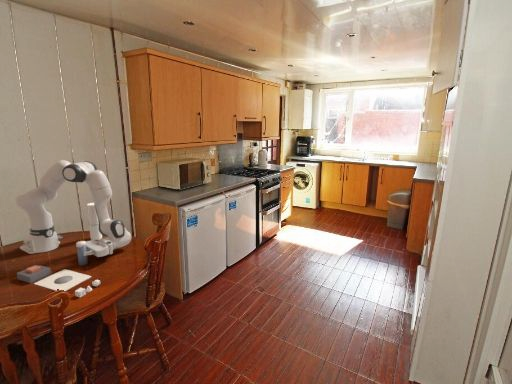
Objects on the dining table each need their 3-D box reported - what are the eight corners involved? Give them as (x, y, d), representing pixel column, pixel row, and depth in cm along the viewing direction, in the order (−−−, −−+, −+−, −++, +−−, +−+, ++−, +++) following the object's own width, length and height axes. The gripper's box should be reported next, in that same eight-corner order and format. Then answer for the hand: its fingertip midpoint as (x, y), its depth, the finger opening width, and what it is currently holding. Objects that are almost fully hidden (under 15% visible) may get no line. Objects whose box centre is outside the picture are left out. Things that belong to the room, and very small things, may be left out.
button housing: (17, 279, 144) (16, 273, 144) (38, 270, 154) (37, 264, 153) (30, 283, 141) (29, 276, 140) (51, 273, 150) (50, 267, 150)
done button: (26, 274, 146) (25, 268, 145) (35, 270, 150) (34, 265, 149) (32, 275, 144) (31, 270, 144) (41, 271, 148) (40, 266, 148)
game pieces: (80, 298, 131) (79, 292, 130) (75, 296, 132) (74, 290, 131) (102, 285, 142) (101, 279, 141) (97, 283, 143) (96, 277, 142)
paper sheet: (33, 284, 141) (33, 283, 141) (64, 269, 155) (64, 268, 155) (62, 292, 134) (62, 292, 134) (91, 276, 149) (91, 276, 149)
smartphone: (51, 240, 193) (41, 235, 200) (51, 241, 193) (41, 236, 201) (63, 236, 199) (52, 232, 206) (63, 238, 199) (52, 233, 207)
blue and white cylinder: (76, 264, 161) (74, 243, 158) (83, 261, 166) (81, 240, 163) (82, 266, 160) (80, 244, 157) (89, 262, 164) (87, 241, 161)
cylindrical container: (104, 237, 201) (101, 203, 196) (96, 240, 195) (92, 205, 189) (96, 235, 204) (93, 202, 198) (88, 239, 197) (84, 204, 192)
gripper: (95, 236, 177) (71, 243, 165) (113, 244, 165) (88, 252, 154) (96, 245, 178) (72, 253, 167) (114, 254, 167) (89, 262, 156)
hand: (80, 252), depth 160 cm, fingers open, 5 cm apart
